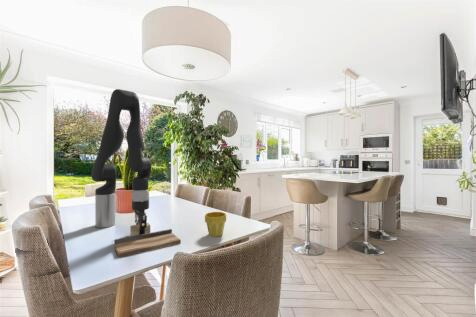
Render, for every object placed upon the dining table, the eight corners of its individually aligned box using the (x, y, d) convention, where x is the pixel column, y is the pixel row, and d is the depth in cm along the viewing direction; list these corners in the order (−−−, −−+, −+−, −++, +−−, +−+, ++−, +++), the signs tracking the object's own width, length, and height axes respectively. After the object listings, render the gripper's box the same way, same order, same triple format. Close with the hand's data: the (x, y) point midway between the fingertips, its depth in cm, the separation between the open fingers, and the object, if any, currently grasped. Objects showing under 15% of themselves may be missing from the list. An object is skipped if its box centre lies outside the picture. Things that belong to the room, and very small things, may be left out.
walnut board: (114, 246, 93) (114, 239, 93) (171, 235, 107) (171, 228, 107) (118, 257, 83) (118, 249, 83) (180, 243, 97) (180, 236, 97)
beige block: (130, 236, 106) (130, 225, 106) (148, 232, 111) (148, 222, 111) (132, 239, 102) (132, 228, 102) (150, 235, 107) (150, 225, 107)
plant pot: (200, 236, 106) (200, 215, 106) (211, 229, 116) (211, 210, 115) (219, 239, 102) (219, 218, 102) (229, 232, 111) (229, 212, 111)
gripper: (129, 197, 110) (129, 231, 110) (135, 202, 98) (135, 240, 99) (145, 196, 114) (145, 228, 115) (152, 200, 103) (152, 237, 103)
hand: (140, 234), depth 107 cm, fingers open, 5 cm apart
